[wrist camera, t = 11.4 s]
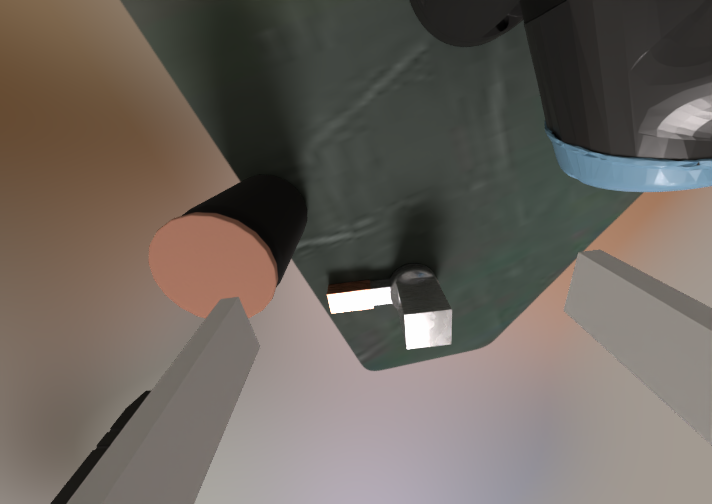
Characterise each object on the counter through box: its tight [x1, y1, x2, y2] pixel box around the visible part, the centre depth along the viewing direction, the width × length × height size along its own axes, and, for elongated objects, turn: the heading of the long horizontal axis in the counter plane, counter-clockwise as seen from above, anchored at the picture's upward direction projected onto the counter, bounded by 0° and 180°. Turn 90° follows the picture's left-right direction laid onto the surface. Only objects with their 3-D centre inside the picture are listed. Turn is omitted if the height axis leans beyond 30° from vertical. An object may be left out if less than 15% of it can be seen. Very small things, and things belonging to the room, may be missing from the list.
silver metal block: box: [395, 276, 452, 349], centre depth 38 cm, size 6×6×8 cm
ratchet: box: [327, 263, 440, 313], centre depth 42 cm, size 18×8×7 cm, turn 98°
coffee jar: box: [149, 175, 307, 318], centre depth 30 cm, size 11×11×18 cm
